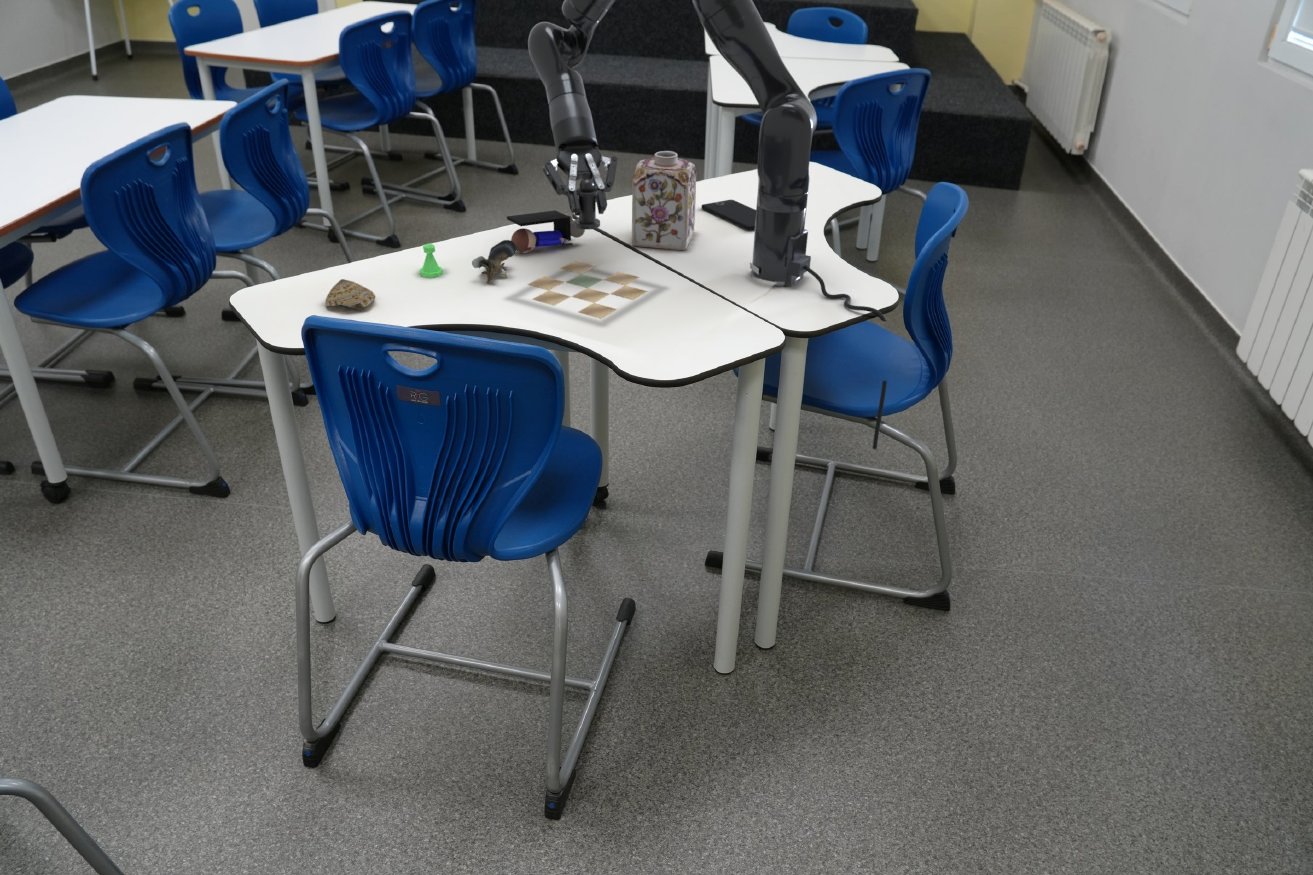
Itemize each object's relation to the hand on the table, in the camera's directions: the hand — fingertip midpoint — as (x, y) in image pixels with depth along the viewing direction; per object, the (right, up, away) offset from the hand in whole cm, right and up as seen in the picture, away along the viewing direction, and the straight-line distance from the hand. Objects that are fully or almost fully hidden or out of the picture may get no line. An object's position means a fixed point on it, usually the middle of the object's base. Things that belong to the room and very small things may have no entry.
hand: (590, 212), depth 172 cm
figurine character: (-11, -1, +27) cm, 29 cm away
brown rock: (-42, -16, 0) cm, 45 cm away
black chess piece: (-1, -2, +3) cm, 4 cm away
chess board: (-1, -13, +7) cm, 15 cm away
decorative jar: (+13, +2, +33) cm, 35 cm away
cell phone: (+30, +10, +47) cm, 57 cm away
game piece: (-31, -9, +13) cm, 35 cm away
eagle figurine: (-19, -9, +13) cm, 25 cm away
